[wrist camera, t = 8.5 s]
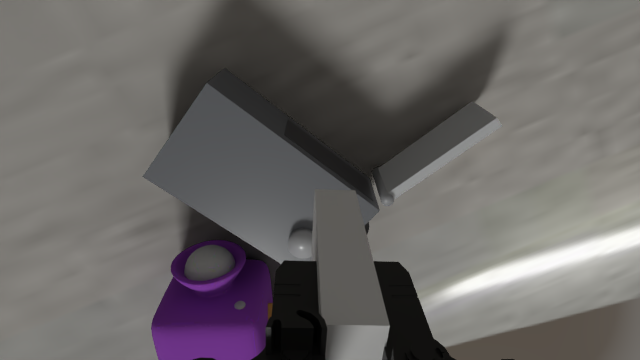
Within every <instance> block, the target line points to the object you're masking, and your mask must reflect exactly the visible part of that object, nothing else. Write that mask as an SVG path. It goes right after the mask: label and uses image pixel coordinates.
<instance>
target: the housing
mask: <svg viewBox="0 0 640 360" xmlns="http://www.w3.org/2000/svg"><path fill="white" fill-rule="evenodd" d="M143 177H144V178H145V179H147V180H149V181H150V182H152V183H153V184H155V185H157V186H158V187H160V188H161V189H163V190H164V191H166V192H168V193H169V194H171V195H172V196H174V197H176V198H177V199H179V200H180V201H182V202H184V203H185V204H187V205H188V206H190V207H191V208H193V209H195V210H196V211H198V212H199V213H201V214H203V215H204V216H206V217H207V218H209V219H210V220H212V221H214V222H215V223H217V224H218V225H220V226H222V227H223V228H225V229H226V230H228V231H230V232H231V233H233V234H234V235H236V236H237V237H239V238H241V239H242V240H244V241H245V242H247V243H249V244H250V245H252V246H253V247H255V248H256V249H258V250H260V251H261V252H263V253H264V254H266V255H268V256H269V257H271V258H272V259H274V260H276V261H277V262H279V263H280V264H282V262H283V261H284V260H289V261H312V253H311V249H312V231H313V214H314V196H315V189H327V190H355V191H356V195H357V199H358V203H359V207H360V211H361V215H362V219H363V222H364V226H365V230H366V234H367V233H368V230H369V221H370V220H371V219H372V218H373V217H374V216H375V215H376V214H377V213H378V212H379V211H380V210H379V207H378V204H377V200H376V197H375V194H374V190H373V187H372V184H371V180H370V178H368V177H367V176H366V175H364V174H363V173H362V172H360V171H359V170H358V169H357V168H355V167H354V166H353V165H351V164H350V163H349V162H347V161H346V160H345V159H343V158H342V157H341V156H339V155H338V154H337V153H336V152H334V151H333V150H332V149H330V148H329V147H328V146H326V145H325V144H324V143H322V142H321V141H320V140H318V139H317V138H316V137H315V136H313V135H312V134H311V133H309V132H308V131H307V130H305V129H304V128H303V127H301V126H300V125H299V124H297V123H296V122H295V121H294V120H292V119H291V118H290V117H288V116H287V115H286V114H284V113H283V112H282V111H280V110H279V109H278V108H276V107H275V106H274V105H273V104H271V103H270V102H269V101H267V100H266V99H265V98H263V97H262V96H261V95H259V94H258V93H257V92H255V91H254V90H253V89H252V88H250V87H249V86H248V85H246V84H245V83H244V82H242V81H241V80H240V79H238V78H237V77H236V76H234V75H233V74H232V73H230V72H229V71H228V70H227V69H225V68H224V69H223V70H222V71H220V72H219V73H218V74H217V75H216V76H214V77H213V78H212V79H211V80H209V81H208V82H207V83H206V84H205V86H204V87H203V89H202V90H201V92H200V93H199V95H198V96H197V98H196V99H195V101H194V102H193V104H192V105H191V106H190V108H189V109H188V111H187V112H186V114H185V115H184V117H183V118H182V120H181V121H180V123H179V124H178V126H177V127H176V128H175V130H174V131H173V133H172V134H171V136H170V137H169V139H168V140H167V142H166V143H165V145H164V146H163V148H162V149H161V150H160V152H159V153H158V155H157V156H156V158H155V159H154V161H153V162H152V164H151V165H150V167H149V168H148V170H147V171H146V172H145V174H144V175H143Z"/></svg>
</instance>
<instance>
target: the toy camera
mask: <svg viewBox="0 0 640 360" xmlns="http://www.w3.org/2000/svg"><path fill="white" fill-rule="evenodd" d="M171 272H172V274H173V276H174V277H173V279H172V281H171V282H170V284H169V286H168V288H167V290H166V292H165V294H164V296H163V298H162V300H161V302H160V305H159V307H158V309H157V311H156V313H155V315H154V318H153V321H152V327H151V330H152V337H153V341H154V345H155V349H156V352H157V356H158V359H159V360H193V359H196V358H200V357H201V358H213V359H216V360H251V359H253V358H254V357H256V356H257V355H258V354H259V353H260V352H261V351H262V350H263V349H264V348H265V346H266V325H267V322H268V320H269V318H270V317H271V315H272V305H273V297H272V288H271V279H270V273H269V269H268V267H267V265H266V263H265V262H263V261H260V260H246V253H245V251H244V249H243V248H242V247H241V246H239V245H238V244H236V243H233V242H230V241H225V240H211V241H205V242H202V243H199V244H196V245H193V246H191V247H189V248H187V249H185V250H184V251H182V252H181V253H180V254H179V255H177V256H176V258H175V259H174V260H173V262H172V264H171Z"/></svg>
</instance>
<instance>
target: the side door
mask: <svg viewBox="0 0 640 360" xmlns="http://www.w3.org/2000/svg"><path fill="white" fill-rule="evenodd" d="M501 126H502V125H501V124H500V122H499V120H498V119H497V118H496V117H495V116H493V115H492V114H491V113H489V112H488V111H486V110H485V109H483V108H482V107H480V106H479V105H477V104H476V103H474V102H473V101H472V102H470V103H469V104H467V105H466V106H465V107H463V108H462V109H460V110H459V111H458V112H456V113H455V114H453V115H452V116H451V117H449V118H448V119H446V120H445V121H444V122H442V123H441V124H439V125H438V126H437V127H435V128H434V129H432V130H431V131H430V132H428V133H427V134H425V135H424V136H423V137H421V138H420V139H418V140H417V141H416V142H414V143H413V144H411V145H410V146H409V147H407V148H406V149H404V150H403V151H402V152H400V153H399V154H397V155H396V156H395V157H393V158H392V159H390V160H389V161H388V162H386V163H385V164H383V165H382V166H381V167H376V168H374V169H373V171H372V174H373V177H374V180H375V183H376V186H377V190H378V193H379V196H380V199H381V202H382V204H383V205H385V206H390V205H392V204H393V202H394V199H396V198H397V197H399V196H400V195H402V194H403V193H404V192H406V191H407V190H409V189H410V188H412V187H413V186H415V185H416V184H418V183H419V182H421V181H422V180H424V179H425V178H426V177H428V176H429V175H431V174H432V173H434V172H435V171H437V170H438V169H440V168H441V167H443V166H444V165H446V164H447V163H448V162H450V161H451V160H453V159H454V158H456V157H457V156H459V155H460V154H462V153H463V152H465V151H466V150H468V149H469V148H471V147H472V146H473V145H475V144H476V143H478V142H479V141H481V140H482V139H484V138H485V137H487V136H488V135H490V134H491V133H493V132H494V131H495V130H497V129H498V128H500V127H501Z"/></svg>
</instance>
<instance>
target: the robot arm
mask: <svg viewBox="0 0 640 360" xmlns="http://www.w3.org/2000/svg"><path fill="white" fill-rule="evenodd" d="M311 253H312V261H289V260H284V261H283V262H282V264H281V265H280V266H279V268H278V269H277V270H276V276H275V286H274V297H273V305H272V315H271V317H270V318H269V320H268V322H267V325H266V346H265V348H264V349H263V350H262V351H261V352H260V353H259V354H258V355H257V356H256V357H254V358H253V359H251V360H455V359H454V358H452V357H451V356H450V355H449V353H448V352H447V350H446V349H445V347H444V346H442V345H441V344H440V343H439V342H438V341H436V340H434V338H433V336H432V333H431V331H430V328H429V325H428V323H427V320H426V317H425V315H424V312H423V309H422V306H421V304H420V301H419V298H417V293H416V290H415V288H414V285H413V282H412V279H411V277H410V274H409V272H408V271H407V270H406V269H405V268H404V267H403V266H402V265H401V264H400V263H399V262H378V261H373V258H372V254H371V250H370V246H369V242H368V238H367V234H366V230H365V226H364V222H363V219H362V215H361V211H360V207H359V203H358V199H357V195H356V191H355V190H327V189H315V196H314V214H313V231H312V249H311ZM193 360H216V359H213V358H201V357H200V358H196V359H193ZM502 360H514V359H502Z"/></svg>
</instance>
